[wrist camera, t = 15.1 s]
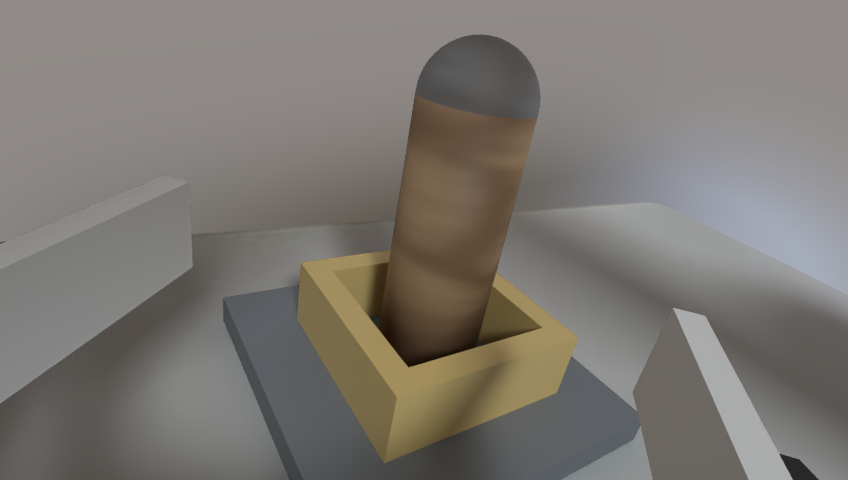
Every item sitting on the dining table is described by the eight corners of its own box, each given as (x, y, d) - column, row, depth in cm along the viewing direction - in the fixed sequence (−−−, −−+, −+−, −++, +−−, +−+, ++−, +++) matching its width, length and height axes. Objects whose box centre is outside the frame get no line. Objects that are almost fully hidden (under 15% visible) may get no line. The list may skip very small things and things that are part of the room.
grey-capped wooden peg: (435, 318, 29) (497, 33, 22) (490, 373, 25) (583, 53, 18) (358, 337, 26) (401, 18, 19) (406, 402, 22) (480, 38, 16)
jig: (452, 276, 36) (466, 215, 34) (633, 439, 25) (672, 362, 23) (223, 320, 28) (222, 241, 25) (340, 600, 16) (356, 502, 14)
